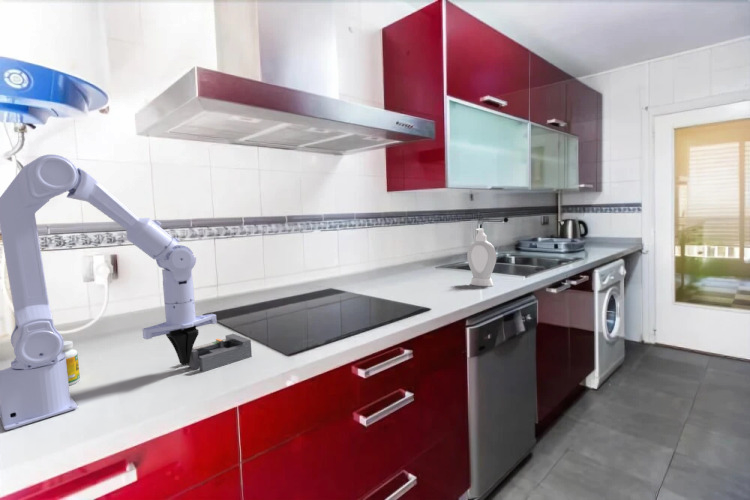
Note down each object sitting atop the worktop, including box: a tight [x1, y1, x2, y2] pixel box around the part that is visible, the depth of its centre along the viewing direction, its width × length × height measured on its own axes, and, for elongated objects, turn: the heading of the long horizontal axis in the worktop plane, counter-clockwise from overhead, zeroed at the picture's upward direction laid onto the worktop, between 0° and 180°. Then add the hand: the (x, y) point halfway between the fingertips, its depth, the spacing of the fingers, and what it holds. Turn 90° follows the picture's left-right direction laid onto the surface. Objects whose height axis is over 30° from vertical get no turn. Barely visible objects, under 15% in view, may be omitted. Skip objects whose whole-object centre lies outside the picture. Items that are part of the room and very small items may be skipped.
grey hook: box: [187, 338, 227, 371], centre depth 91 cm, size 8×6×4 cm
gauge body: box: [193, 333, 253, 373], centre depth 92 cm, size 12×8×4 cm
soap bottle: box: [466, 227, 497, 287], centre depth 169 cm, size 13×8×24 cm, turn 53°
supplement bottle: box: [62, 340, 81, 387], centre depth 81 cm, size 5×5×8 cm
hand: (184, 363), depth 86 cm, fingers closed
